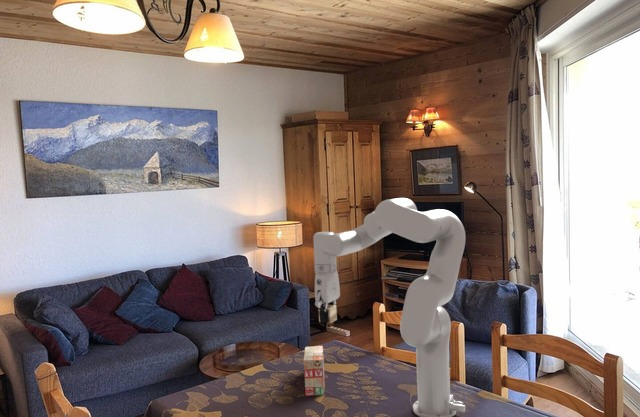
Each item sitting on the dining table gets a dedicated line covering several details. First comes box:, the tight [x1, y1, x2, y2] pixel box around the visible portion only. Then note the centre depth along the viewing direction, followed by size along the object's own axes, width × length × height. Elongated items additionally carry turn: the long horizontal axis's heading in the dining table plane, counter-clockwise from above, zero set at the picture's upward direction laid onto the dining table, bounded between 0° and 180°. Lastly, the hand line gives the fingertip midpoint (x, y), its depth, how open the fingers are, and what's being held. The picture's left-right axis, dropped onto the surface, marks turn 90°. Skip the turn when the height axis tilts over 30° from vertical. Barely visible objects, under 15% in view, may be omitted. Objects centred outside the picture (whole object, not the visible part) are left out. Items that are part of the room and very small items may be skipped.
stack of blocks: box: [303, 345, 325, 397], centre depth 174 cm, size 21×6×12 cm, turn 179°
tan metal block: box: [318, 304, 338, 324], centre depth 174 cm, size 4×4×5 cm
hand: (328, 319), depth 174 cm, fingers closed on tan metal block, 4 cm apart
